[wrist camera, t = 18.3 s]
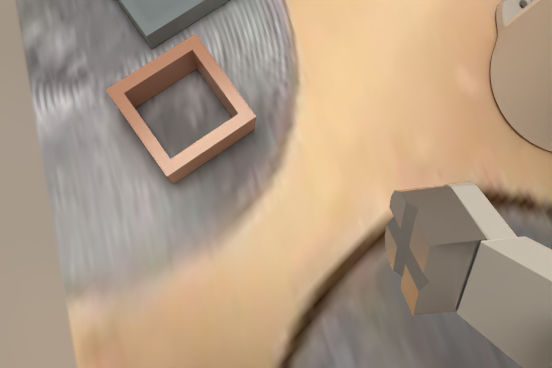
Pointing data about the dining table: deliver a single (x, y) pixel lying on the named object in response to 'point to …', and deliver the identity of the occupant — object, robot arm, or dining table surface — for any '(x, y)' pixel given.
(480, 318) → the robot arm
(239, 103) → the square frame
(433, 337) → the dining table surface
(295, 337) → the dining table surface
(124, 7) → the tray
